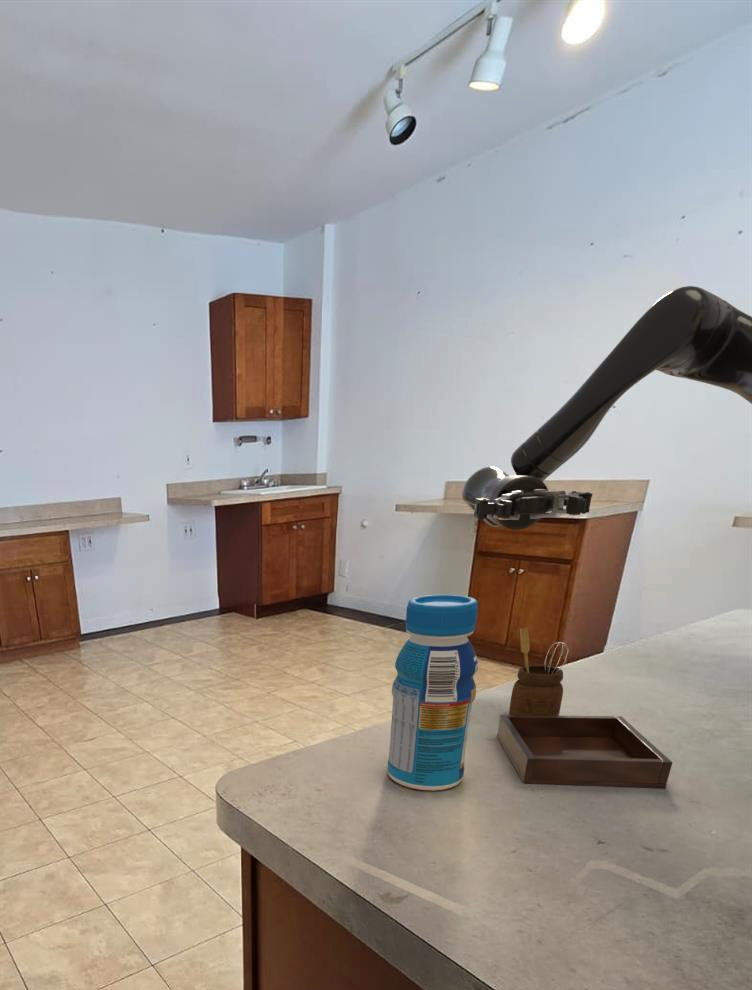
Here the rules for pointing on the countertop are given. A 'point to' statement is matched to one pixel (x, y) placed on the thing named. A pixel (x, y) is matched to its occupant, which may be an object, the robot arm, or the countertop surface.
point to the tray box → (581, 751)
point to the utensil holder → (537, 685)
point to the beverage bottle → (433, 693)
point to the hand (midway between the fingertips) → (543, 508)
